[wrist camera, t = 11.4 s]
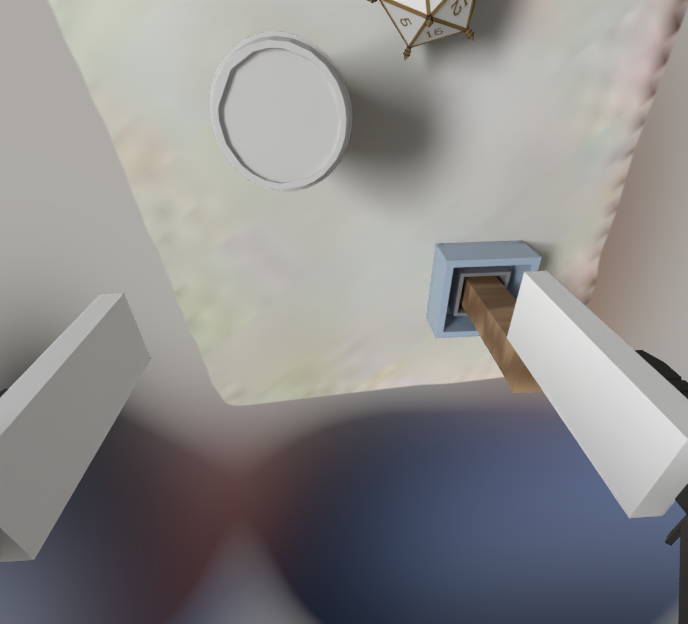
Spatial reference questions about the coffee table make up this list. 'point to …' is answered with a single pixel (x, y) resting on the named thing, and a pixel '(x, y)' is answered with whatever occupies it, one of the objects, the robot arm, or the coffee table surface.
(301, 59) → the disposable coffee cup
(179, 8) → the coffee table surface
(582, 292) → the coffee table surface
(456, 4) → the game die
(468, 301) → the long wooden beam
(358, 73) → the coffee table surface
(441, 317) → the light blue square bin
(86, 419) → the robot arm
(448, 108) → the coffee table surface
